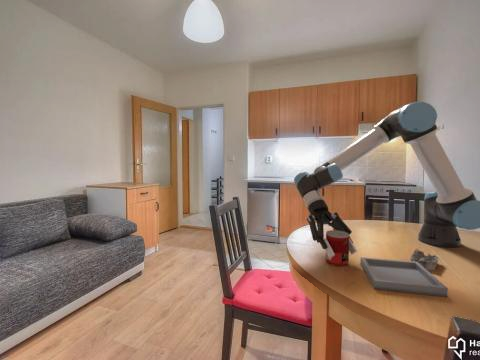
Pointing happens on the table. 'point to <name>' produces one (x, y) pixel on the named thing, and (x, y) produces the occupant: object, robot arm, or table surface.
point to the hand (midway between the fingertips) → (343, 254)
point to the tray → (402, 277)
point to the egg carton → (425, 259)
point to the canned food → (338, 247)
